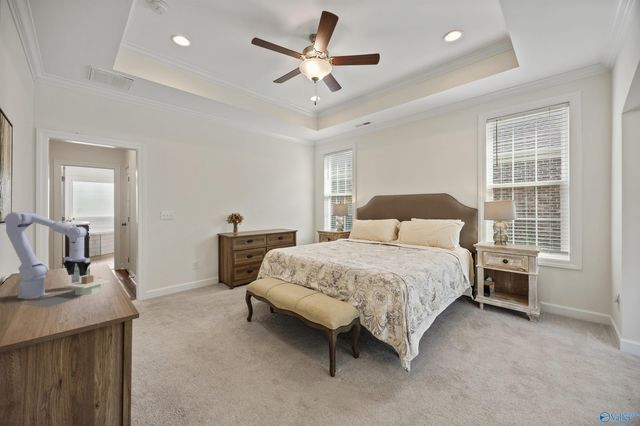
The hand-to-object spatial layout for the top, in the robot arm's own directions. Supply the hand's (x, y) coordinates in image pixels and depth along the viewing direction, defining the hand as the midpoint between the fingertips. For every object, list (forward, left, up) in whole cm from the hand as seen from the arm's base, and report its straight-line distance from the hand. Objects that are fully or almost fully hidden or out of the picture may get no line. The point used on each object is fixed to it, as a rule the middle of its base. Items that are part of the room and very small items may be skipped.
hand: (76, 275), depth 138 cm
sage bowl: (+3, +3, -10) cm, 11 cm away
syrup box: (-9, +8, -11) cm, 16 cm away
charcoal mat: (0, -11, -10) cm, 15 cm away
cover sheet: (+3, +3, -5) cm, 7 cm away
